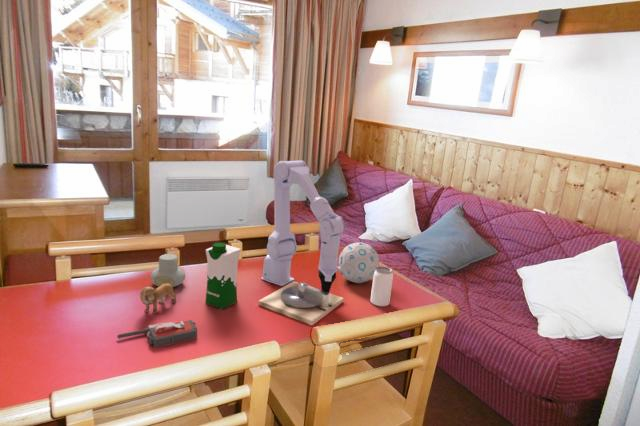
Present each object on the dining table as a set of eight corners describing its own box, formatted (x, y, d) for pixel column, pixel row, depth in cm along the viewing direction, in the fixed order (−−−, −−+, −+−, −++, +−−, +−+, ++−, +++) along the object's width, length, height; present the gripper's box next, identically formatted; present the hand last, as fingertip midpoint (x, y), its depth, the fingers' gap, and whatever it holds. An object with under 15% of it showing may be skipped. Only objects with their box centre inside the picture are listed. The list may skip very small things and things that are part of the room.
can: (388, 308, 148) (393, 275, 145) (369, 305, 149) (373, 271, 146) (389, 300, 154) (394, 268, 151) (371, 297, 155) (375, 264, 152)
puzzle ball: (329, 281, 165) (333, 242, 161) (349, 269, 178) (353, 234, 174) (365, 293, 158) (370, 254, 154) (383, 281, 170) (388, 244, 166)
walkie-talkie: (192, 323, 128) (116, 339, 117) (192, 309, 127) (116, 324, 116) (202, 338, 121) (122, 356, 110) (202, 324, 120) (122, 340, 109)
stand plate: (258, 305, 142) (258, 299, 142) (293, 285, 159) (293, 280, 159) (311, 325, 133) (312, 320, 132) (342, 301, 150) (343, 297, 149)
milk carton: (201, 303, 140) (202, 243, 134) (220, 293, 148) (222, 236, 142) (223, 311, 136) (225, 250, 131) (241, 301, 144) (244, 242, 138)
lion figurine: (151, 320, 127) (151, 291, 125) (135, 316, 129) (134, 287, 126) (180, 299, 141) (180, 273, 139) (165, 296, 142) (165, 269, 140)
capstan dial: (271, 298, 144) (272, 283, 143) (299, 286, 155) (301, 272, 154) (312, 317, 134) (313, 301, 133) (339, 303, 145) (341, 288, 144)
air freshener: (187, 280, 155) (188, 253, 152) (181, 291, 147) (181, 262, 144) (155, 278, 154) (155, 251, 151) (147, 288, 146) (147, 260, 143)
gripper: (343, 263, 135) (338, 304, 139) (340, 247, 149) (336, 284, 153) (320, 261, 135) (315, 302, 139) (319, 245, 149) (315, 282, 153)
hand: (325, 292), depth 146 cm, fingers closed
